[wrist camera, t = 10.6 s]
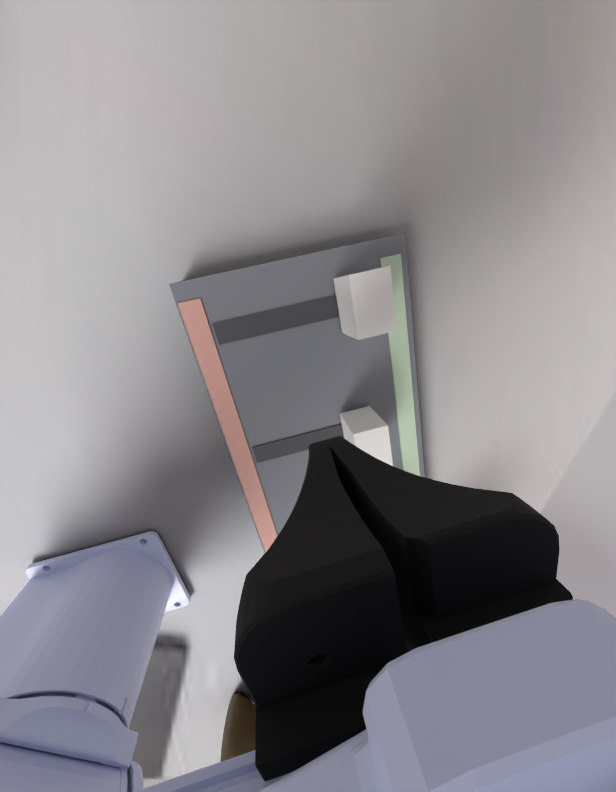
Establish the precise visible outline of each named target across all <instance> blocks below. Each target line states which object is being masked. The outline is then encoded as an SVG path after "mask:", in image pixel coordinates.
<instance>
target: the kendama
mask: <svg viewBox="0 0 616 792" xmlns="http://www.w3.org/2000/svg"><path fill="white" fill-rule="evenodd" d="M255 737H256V705H255V704H253V703H252V702H250V701H249V700H248V699H246V698H245V697H244V696H242V695H241V694H238V693H236V694H234V695H233V697H232V699H231V701H230V704H229V708H228V712H227V716H226V722H225V727H224V733H223V741H222V750H221V762H222V761H225V760H228V759H231V758H234V757H237V756H240V755H243V754H245V753H248V752H251V751H254V750H255Z"/></svg>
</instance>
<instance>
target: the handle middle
mask: <svg viewBox="0 0 616 792" xmlns="http://www.w3.org/2000/svg"><path fill="white" fill-rule="evenodd" d="M340 418H341V424H342V429H343V434H344V439H346V440H347V441H349V442H350V443H352V444H353V445H355V446H356V447H358V448H360V449H361V450H363V451H364V452H366V453H368V454H370V455H371V456H373V457H375V458H377V459H379V460H381V461H383V462H385V463H387V464H389V465H391V466H393V461H392V453H391V445H390V437H389V429H388V425H387V424H386V423H385V422H384V421H383V420H382V419H381V417H380V416H379V415H378V414H377V413H376V412H375V411H374V410H373V409H372V408H371V407H370V406H367V407H363V408H359V409H355V410H351V411H347V412H344V413H340Z"/></svg>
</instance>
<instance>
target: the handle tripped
mask: <svg viewBox="0 0 616 792" xmlns="http://www.w3.org/2000/svg"><path fill="white" fill-rule="evenodd" d="M333 280H334V286H335V292H336V298H337V304H338V310H339V316H340V322H341V328H342V333H344V334H346V335H348V336H350V337H352V338H355V339H357V340H361V339H365V338H369V337H373V336H377V335H382V334H386V333H390V332H394V331H397V327H396V317H395V307H394V297H393V287H392V277H391V267H390V266H386V267H382V268H378V269H373V270H369V271H364V272H360V273H355V274H351V275H347V276H342V277H338V278H334V279H333Z"/></svg>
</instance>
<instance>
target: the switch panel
mask: <svg viewBox="0 0 616 792" xmlns="http://www.w3.org/2000/svg"><path fill="white" fill-rule="evenodd" d="M386 266H390V267H391V277H392V287H393V297H394V307H395V317H396V327H397V331H394V332H390V333H386V334H382V335H377V336H373V337H369V338H365V339H361V340H357V339H355V338H352V337H350V336H348V335H346V334H344V333H342V328H341V322H340V316H339V310H338V304H337V298H336V292H335V286H334V280H333V279H334V278H338V277H342V276H347V275H351V274H355V273H360V272H364V271H369V270H373V269H378V268H382V267H386ZM169 285H170V288H171V290H172V293H173V296H174V299H175V302H176V304H177V307H178V310H179V313H180V316H181V318H182V321H183V324H184V327H185V330H186V333H187V335H188V338H189V341H190V344H191V347H192V349H193V352H194V355H195V358H196V361H197V364H198V366H199V369H200V372H201V375H202V378H203V380H204V383H205V386H206V389H207V392H208V394H209V397H210V400H211V403H212V406H213V409H214V411H215V414H216V417H217V420H218V423H219V425H220V428H221V431H222V434H223V437H224V440H225V442H226V445H227V448H228V451H229V454H230V456H231V459H232V462H233V465H234V468H235V470H236V473H237V476H238V479H239V482H240V485H241V487H242V490H243V493H244V496H245V499H246V501H247V504H248V507H249V510H250V513H251V516H252V518H253V521H254V524H255V527H256V530H257V532H258V535H259V538H260V541H261V544H262V546H263V549H264V552H265V553H266V552H267V550H268V549H269V548H270V546H271V545H272V543H273V542H274V540H275V539H276V537H277V536H278V534H279V533H280V531H281V530H282V528H283V527H284V525H285V523H286V522H287V520H288V518H289V516H290V514H291V512H292V510H293V508H294V506H295V504H296V501H297V499H298V496H299V494H300V491H301V488H302V485H303V482H304V478H305V475H306V470H307V465H308V458H309V448H308V447H309V445H310V444H312V443H315V442H319V441H322V440H326V439H330V438H333V437H337V436H341V437H343V438H344V434H343V429H342V424H341V418H340V413H344V412H347V411H351V410H355V409H359V408H363V407H367V406H370V407H371V408H372V409H373V410H374V411H375V412H376V413H377V414H378V415H379V416H380V417H381V419H382V420H383V421H384V422H385V423H386V424H387V425H388V429H389V437H390V445H391V453H392V461H393V466H394V467H396V468H399V469H401V470H404V471H406V472H409V473H412V474H415V475H418V476H421V477H425V474H424V461H423V449H422V436H421V424H420V411H419V399H418V386H417V374H416V361H415V349H414V336H413V324H412V311H411V299H410V286H409V274H408V261H407V248H406V236H405V233H401V234H397V235H392V236H388V237H383V238H378V239H374V240H369V241H365V242H360V243H355V244H351V245H346V246H342V247H337V248H332V249H328V250H323V251H319V252H314V253H309V254H305V255H300V256H296V257H291V258H286V259H282V260H277V261H273V262H268V263H263V264H259V265H254V266H250V267H245V268H240V269H236V270H231V271H227V272H222V273H218V274H213V275H208V276H204V277H199V278H195V279H190V280H185V281H181V282H176V283H172V284H169Z"/></svg>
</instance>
